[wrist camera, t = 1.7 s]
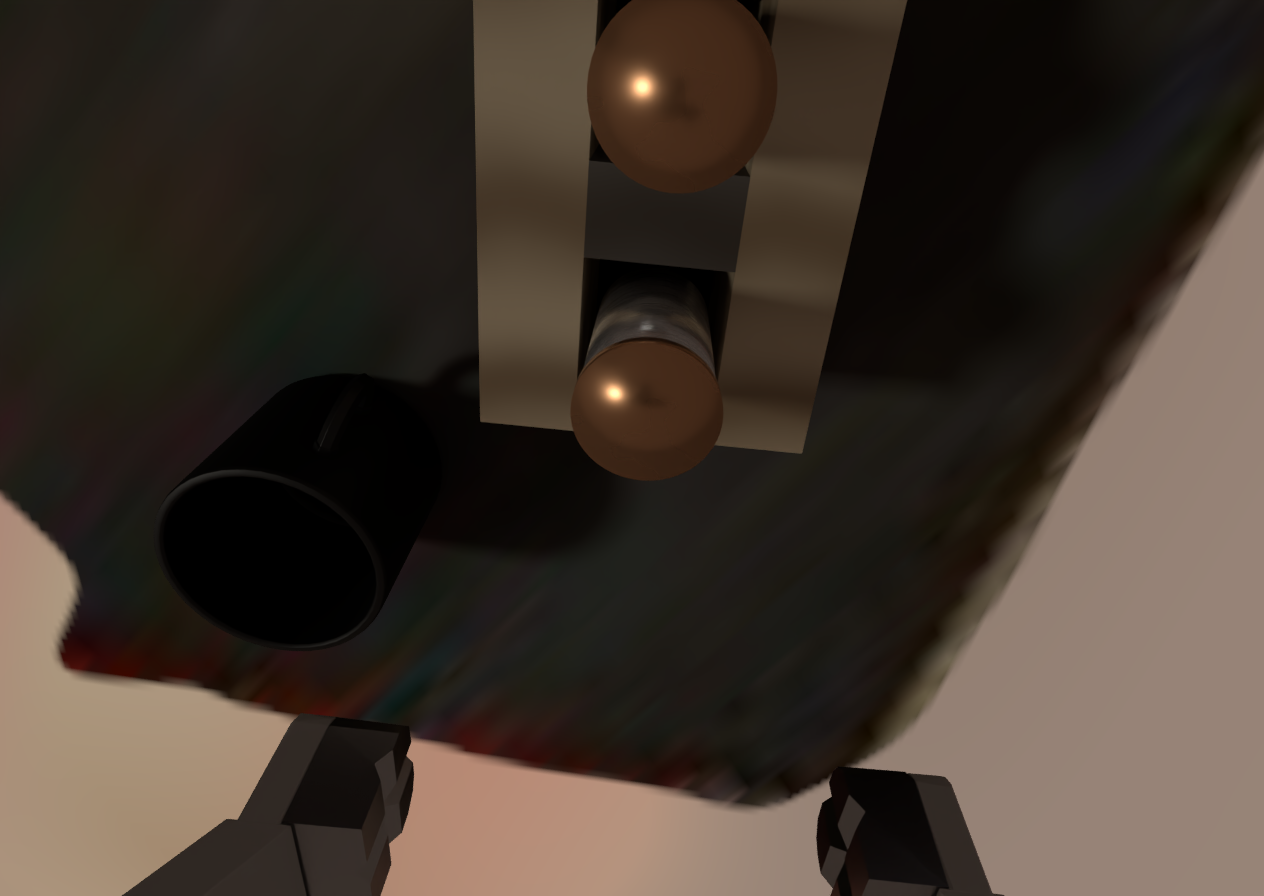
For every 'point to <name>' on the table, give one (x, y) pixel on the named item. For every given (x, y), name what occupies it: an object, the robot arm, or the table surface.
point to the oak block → (669, 210)
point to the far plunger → (649, 379)
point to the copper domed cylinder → (682, 92)
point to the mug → (302, 515)
